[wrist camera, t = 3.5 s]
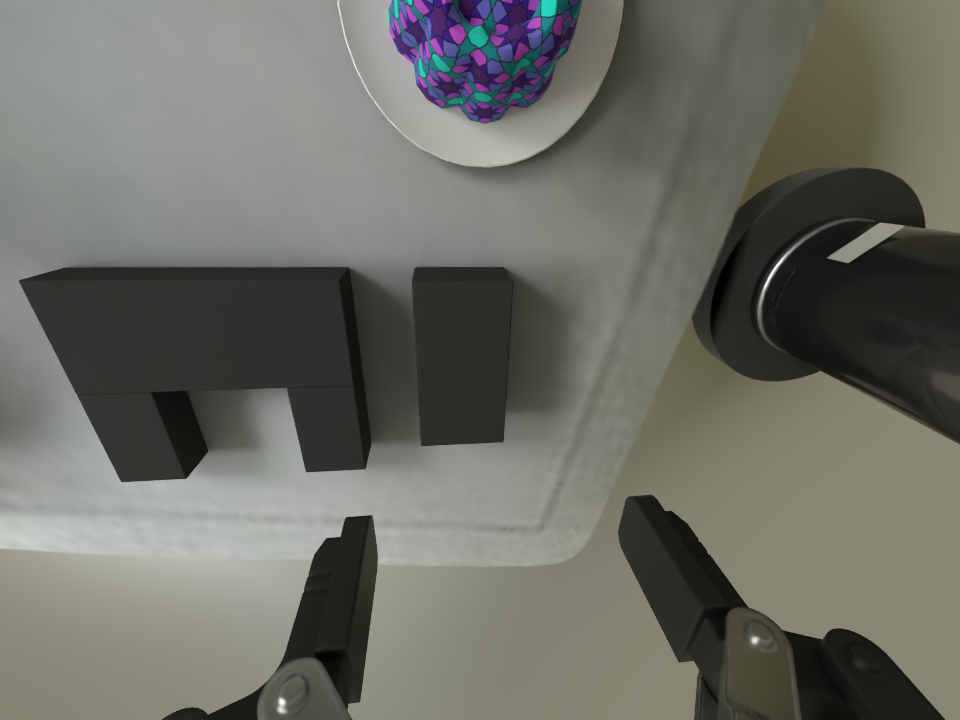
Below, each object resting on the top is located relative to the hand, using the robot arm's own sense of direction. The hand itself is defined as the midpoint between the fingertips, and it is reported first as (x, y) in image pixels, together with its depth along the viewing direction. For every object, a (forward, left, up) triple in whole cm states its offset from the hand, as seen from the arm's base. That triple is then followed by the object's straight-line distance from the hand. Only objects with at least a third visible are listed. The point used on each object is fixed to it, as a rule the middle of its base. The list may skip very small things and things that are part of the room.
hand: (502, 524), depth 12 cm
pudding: (0, -16, -13) cm, 21 cm away
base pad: (+14, +1, -13) cm, 19 cm away
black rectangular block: (+1, 0, -13) cm, 13 cm away
